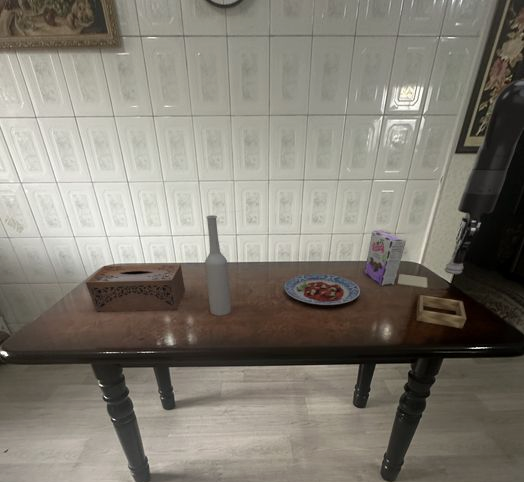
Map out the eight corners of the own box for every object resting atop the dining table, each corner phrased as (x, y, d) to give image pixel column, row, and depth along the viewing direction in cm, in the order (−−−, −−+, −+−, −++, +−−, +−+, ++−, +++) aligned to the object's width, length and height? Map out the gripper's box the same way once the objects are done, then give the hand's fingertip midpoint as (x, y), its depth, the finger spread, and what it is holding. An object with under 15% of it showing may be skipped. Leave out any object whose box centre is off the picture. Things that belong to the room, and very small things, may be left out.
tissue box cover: (96, 312, 96) (85, 282, 90) (112, 293, 107) (104, 265, 102) (177, 309, 96) (172, 280, 91) (185, 291, 108) (180, 264, 102)
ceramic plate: (370, 289, 107) (371, 281, 106) (339, 318, 91) (340, 309, 89) (307, 274, 120) (308, 267, 119) (270, 297, 103) (270, 288, 102)
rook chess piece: (460, 275, 82) (471, 246, 77) (442, 272, 84) (452, 243, 79) (463, 271, 85) (474, 242, 80) (445, 268, 87) (455, 239, 82)
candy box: (363, 272, 121) (371, 230, 112) (377, 271, 122) (386, 229, 113) (380, 286, 110) (391, 240, 101) (395, 284, 111) (407, 239, 102)
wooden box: (458, 310, 94) (462, 301, 92) (462, 328, 85) (466, 318, 83) (417, 303, 98) (419, 294, 96) (416, 320, 89) (419, 310, 87)
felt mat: (426, 278, 116) (427, 277, 115) (426, 288, 108) (427, 287, 108) (399, 274, 119) (399, 273, 119) (397, 284, 112) (397, 283, 111)
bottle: (230, 305, 99) (223, 213, 83) (232, 314, 93) (224, 218, 77) (210, 306, 98) (199, 214, 82) (210, 316, 92) (198, 219, 76)
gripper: (506, 195, 66) (475, 271, 76) (494, 187, 77) (469, 255, 87) (467, 194, 69) (442, 267, 79) (461, 186, 79) (440, 252, 89)
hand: (456, 260), depth 83 cm, fingers closed on rook chess piece, 3 cm apart
